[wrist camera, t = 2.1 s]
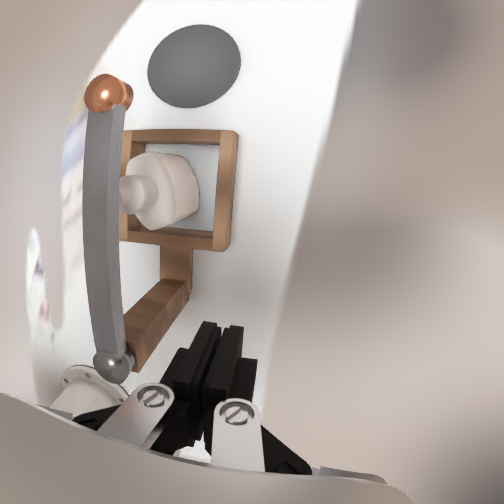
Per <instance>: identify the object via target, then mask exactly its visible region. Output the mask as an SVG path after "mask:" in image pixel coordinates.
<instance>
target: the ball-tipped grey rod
mask: <svg viewBox="0 0 504 504" xmlns="http://www.w3.org/2000/svg"><path fill="white" fill-rule="evenodd" d="M84 100H85V104H86V106H87V108H88V109H89V112H88V120H87V129H86V139H85V152H84V168H83V244H84V261H85V273H86V284H87V293H88V301H89V309H90V316H91V323H92V329H93V335H94V341H95V347H96V352H97V353H96V354H95V356H94V358H93V365H94V368H95V370H96V371H97V373H98V374H99V375H100V376H101V377H102V378H103V379H105V380H106V381H108V382H110V383H113V384H121V383H123V382H124V381H125V379H126V378H127V377H128V375H129V374H130V372H131V371H132V369H133V368H134V366H135V360H134V357H133V355H132V353H131V352H130V350H129V349H128V348H127V345H126V337H125V329H124V319H123V309H122V297H121V283H120V264H119V183H120V164H121V150H122V138H123V128H124V119H125V112H126V111H127V109H128V108H129V107H130V105H131V103H132V100H133V90H132V88H131V86H130V85H129V84H127V83H125V82H123V81H121V80H119V79H117V78H116V77H114V76H112V75H109V74H102V75H99V76H97V77H96V78H94V79H93V80H92V81H91V82H90V84H89V85H88V87H87V89H86V92H85V97H84Z"/></svg>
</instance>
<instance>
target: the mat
mask: <svg viewBox="0 0 504 504" xmlns="http://www.w3.org/2000/svg"><path fill="white" fill-rule="evenodd" d="M239 69H240V53H239V50H238V47H237V45H236V43H235V41H234V40H233V38H232V37H231V36H230V35H229V34H228V33H226V32H225V31H224V30H222V29H220V28H217V27H215V26H210V25H191V26H187V27H184V28H181V29H179V30H176V31H174V32H173V33H171V34H170V35H168V36H167V37H166V38H164V39H163V40H162V41H161V42H160V43H159V45H158V46H157V47H156V48H155V50H154V52H153V53H152V55H151V58H150V60H149V64H148V71H147V72H148V81H149V84H150V87H151V89H152V90H153V92H154V93H155V94H156V95H157V96H158V97H159V98H160V99H161V100H163V101H164V102H166V103H168V104H170V105H173V106H176V107H181V108H194V107H199V106H203V105H206V104H208V103H211V102H213V101H214V100H216V99H218V98H219V97H221V96H222V95H223V94H224V93H225V92H226V91H227V90H228V89H229V88H230V87H231V86H232V84H233V83H234V81H235V79H236V77H237V75H238V72H239Z"/></svg>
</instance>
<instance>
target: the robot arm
mask: <svg viewBox="0 0 504 504" xmlns="http://www.w3.org/2000/svg"><path fill="white" fill-rule="evenodd" d="M243 332H244V327H241V326H233V325H230V327H229V328H225V329H224V331H223V334H222V337H221V327H217V323H213V322H206V321H203V323H202V324H201V326H200V328H199V330H198V332H197V334H196V336H195V338H194V340H193V342H192V344H191V346H190V347H189V349H186V348H179V349H178V351H177V352H176V354H175V356H174V358H173V359H172V361H171V363H170V365H169V367H168V368H167V370H166V372H165V374H164V375H163V377H162V379H161V381H160V382H159V383H147V384H143V385H141V386H139V387H138V388H136V389H135V390H134V391H133V393H132V394H131V395H130V396H128V395H127V394H126V393H125V391H124V390H123V389H122V388H121V387H120V386H119V385H118V384H113V383H110V382H108V381H106V380H105V379H103V378H102V377H101V376H100V375H99V374H98V373H97V371H96V370H95V369H92V368H90V367H86V366H73V367H71V368H69V369H68V370H67V371H66V372H65V373H64V375H63V377H62V388H63V392H62V393H61V394H60V395H59V396H58V397H57V398H56V400H55V401H54V402H53V403H52V404H51V405H50V406H49V407H48V408H47V407H44V406H40V405H36V404H33V403H31V402H29V401H27V400H24V399H21V398H19V397H15V396H12V395H9V394H4V393H0V504H413V502H412V500H411V499H410V498H409V497H408V496H407V495H406V494H405V493H404V492H402V491H401V490H399V489H397V488H394V487H392V486H389V485H387V483H386V482H385V480H384V479H382V478H381V477H379V476H377V475H373V474H365V473H357V472H351V471H344V470H338V469H332V468H326V467H321V466H320V468H319V469H317V468H312V467H310V466H309V465H308V464H307V462H306V461H304V460H303V459H302V458H300V457H299V456H298V455H297V454H295V453H294V452H293V451H292V450H290V449H289V448H288V447H287V446H285V445H284V444H283V443H282V442H281V441H279V440H278V439H277V438H276V437H275V436H274V435H272V434H271V433H270V432H269V431H268V430H266V429H265V428H264V427H263V426H262V425H261V424H260V414H259V411H258V408H257V407H256V406H255V405H254V404H253V403H252V398H253V391H254V385H255V377H256V369H257V361H258V360H257V359H249V358H242V357H241V355H242V344H243ZM203 431H204V442H205V450H206V451H207V452H208V453H209V454H210V456H211V464H207V463H202V462H197V461H193V460H188V459H184V458H180V457H178V456H179V454H180V449H181V448H184V447H186V446H190V447H193V446H194V443H195V440H198V441H200V440H201V437H202V434H203Z"/></svg>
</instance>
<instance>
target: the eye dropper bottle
mask: <svg viewBox="0 0 504 504" xmlns="http://www.w3.org/2000/svg"><path fill="white" fill-rule="evenodd" d="M198 208H199V187H198V183H197V179H196V177H195V174H194V172H193V170H192V168H191V167H190V165H189V164H188V162H187V161H186V160H185V159H184V158H183V157H181V156H179V155H172V154H166V153H158V152H146V153H143V154H141V155H138V156H136V157H134V158H132V159H131V160H130V161H129V162H128V164H127V168H126V175H125V176H123V177H120V183H119V211H120V212H121V213H123V214H128V215H129V214H130V215H131V214H135V215H136V217H137V218H138V219H139V221H140V222H141V223H142V224H143V225H144V226H145V227H146V228H148V229H149V230H156V229H160V228H163V227H166V226H168V225H171V224H173V223H175V222H178V221H180V220H182V219H184V218H186V217H188V216H190V215H192V214H194V213H195V212H197V210H198Z"/></svg>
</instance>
